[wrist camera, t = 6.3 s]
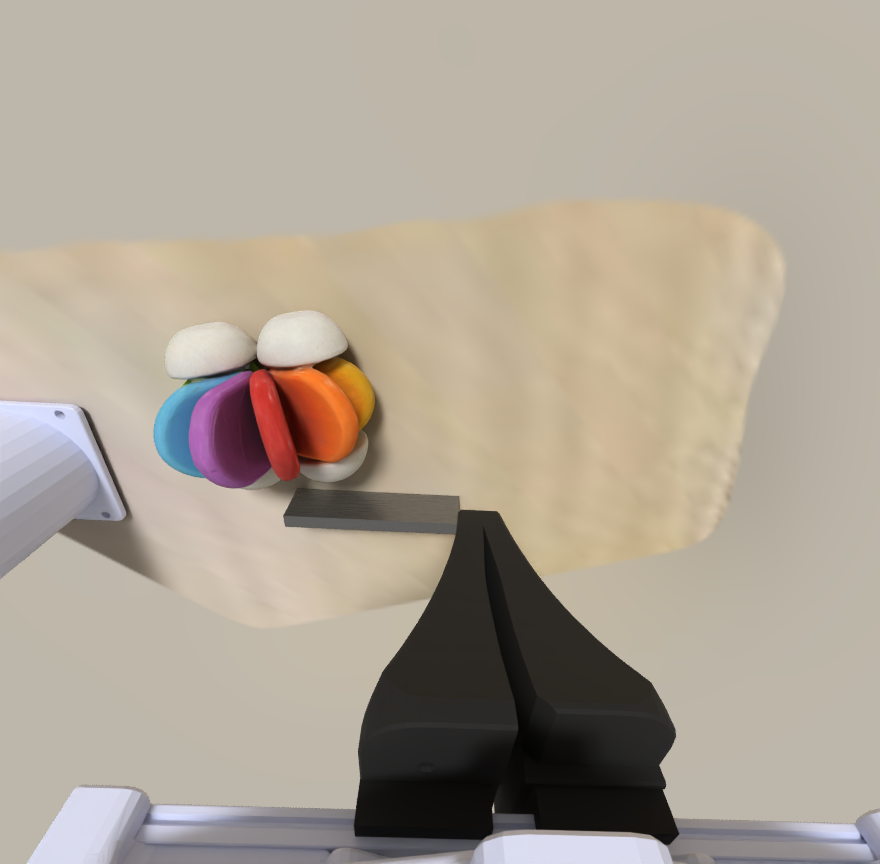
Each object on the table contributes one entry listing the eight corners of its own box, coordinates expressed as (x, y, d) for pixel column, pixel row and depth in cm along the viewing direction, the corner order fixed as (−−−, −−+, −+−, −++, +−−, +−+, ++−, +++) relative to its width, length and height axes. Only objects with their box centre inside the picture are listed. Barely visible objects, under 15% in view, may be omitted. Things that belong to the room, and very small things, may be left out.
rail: (299, 498, 25) (285, 526, 22) (297, 488, 24) (283, 515, 22) (458, 506, 25) (459, 534, 23) (459, 496, 24) (460, 523, 22)
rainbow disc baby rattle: (392, 447, 23) (373, 537, 17) (233, 463, 24) (156, 555, 17) (361, 298, 19) (320, 340, 13) (170, 321, 20) (38, 373, 13)
